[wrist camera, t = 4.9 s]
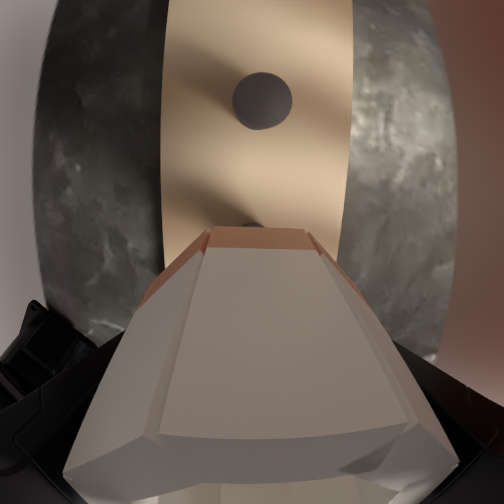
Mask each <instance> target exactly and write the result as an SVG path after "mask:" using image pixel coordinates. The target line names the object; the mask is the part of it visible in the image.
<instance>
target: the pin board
mask: <svg viewBox="0 0 504 504" xmlns="http://www.w3.org/2000/svg"><path fill="white" fill-rule="evenodd" d="M352 87H353V12H352V0H169V8H168V17H167V26H166V37H165V48H164V62H163V78H162V99H161V204H162V227H163V244H164V258H165V269H166V268H167V267H168V266H169V265H170V264H171V263H172V262H173V261H174V260H175V259H176V258H177V257H178V256H179V255H180V254H181V253H182V252H183V251H184V250H185V249H186V248H187V247H188V246H189V245H190V244H191V243H192V242H193V241H194V240H195V239H196V238H198V237H199V236H200V235H201V234H202V233H203V232H204V231H205V230H206V229H208V230H209V231H210V232H212V228H213V226H229V227H265V228H295V229H304V231H305V232H306V234H307V233H308V232H310V233H311V234H312V235H313V236H314V238H315V239H316V240H317V241H318V242H319V243H320V244H321V246H322V247H323V248H324V249H325V250H326V251H327V252H328V254H329V255H330V256H331V257H332V258H333V259H334V261H335V262H336V259H337V253H338V246H339V239H340V231H341V223H342V215H343V207H344V198H345V189H346V179H347V168H348V157H349V144H350V129H351V112H352Z"/></svg>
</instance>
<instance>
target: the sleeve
mask: <svg viewBox="0 0 504 504" xmlns="http://www.w3.org/2000/svg"><path fill="white" fill-rule="evenodd" d="M459 462H460V461H459V459H458V457H457V455H456V453H455V451H454V449H453V447H452V445H451V443H450V441H449V439H448V437H447V435H446V434H445V432H444V430H443V428H442V426H441V424H440V422H439V421H438V419H437V417H436V415H435V413H434V411H433V410H432V408H431V406H430V404H429V403H428V401H427V399H426V397H425V395H424V394H423V392H422V390H421V389H420V387H419V385H418V383H417V382H416V380H415V378H414V377H413V375H412V373H411V372H410V370H409V368H408V366H407V365H406V363H405V362H404V360H403V358H402V357H401V355H400V353H399V352H398V350H397V348H396V347H395V345H394V344H393V342H392V340H391V339H390V337H389V336H388V334H387V333H386V331H385V329H384V328H383V326H382V325H381V323H380V322H379V320H378V318H377V317H376V315H375V314H374V312H373V311H372V309H371V308H370V306H369V305H368V303H367V302H366V300H365V299H364V297H363V296H362V294H361V293H360V291H359V290H358V288H357V287H356V286H355V284H354V283H353V282H352V281H351V280H350V278H349V277H348V276H347V275H346V274H345V272H344V271H343V270H342V269H341V268H340V267H339V265H338V264H337V263H336V262H335V261H334V259H333V258H332V257H331V256H330V255H329V254H328V252H327V251H326V250H325V249H324V248H323V247H322V246H321V244H320V243H319V242H318V241H317V240H316V239H315V238H314V236H313V235H312V234H311V233H310V232H308V233H307V234H306V232H305V231H304V229H295V228H265V227H229V226H213V228H212V232H210V231H209V230H208V229H206V230H205V231H204V232H203V233H202V234H201V235H200V236H199V237H198V238H196V239H195V240H194V241H193V242H192V243H191V244H190V245H189V246H188V247H187V248H186V249H185V250H184V251H183V252H182V253H181V254H180V255H179V256H178V257H177V258H176V259H175V260H174V261H173V262H172V263H171V264H170V265H169V266H168V267H167V268H166V269H165V270H164V271H163V272H162V273H161V274H160V275H159V276H158V277H157V278H156V279H155V280H154V281H153V282H152V283H151V284H150V286H149V288H148V290H147V291H146V293H145V295H144V297H143V299H142V301H141V302H140V304H139V306H138V308H137V310H136V312H135V314H134V316H133V318H132V319H131V321H130V323H129V325H128V327H127V329H126V331H125V333H124V335H123V337H122V339H121V341H120V343H119V345H118V347H117V349H116V351H115V353H114V355H113V357H112V359H111V361H110V363H109V365H108V367H107V369H106V372H105V374H104V376H103V378H102V380H101V382H100V384H99V387H98V389H97V391H96V393H95V395H94V397H93V400H92V402H91V404H90V406H89V409H88V411H87V413H86V415H85V418H84V420H83V422H82V425H81V427H80V430H79V432H78V434H77V437H76V439H75V442H74V444H73V447H72V449H71V452H70V454H69V457H68V459H67V462H66V464H65V467H64V470H63V472H62V473H63V474H64V475H63V478H64V479H65V480H66V481H67V482H68V483H69V484H70V485H71V486H72V487H73V488H74V489H75V491H76V492H77V493H78V494H79V495H80V496H81V497H82V498H83V499H84V500H85V501H86V502H87V503H88V504H419V503H420V502H421V501H422V500H423V499H424V498H425V497H426V496H428V495H429V494H430V493H431V492H432V491H433V490H434V489H435V488H436V487H437V486H438V485H439V484H440V483H441V482H442V481H443V480H444V479H445V478H446V477H447V476H448V475H449V474H450V473H451V472H452V471H453V470H454V469H455V468H456V467H457V466H458V464H457V463H459Z"/></svg>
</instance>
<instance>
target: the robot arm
mask: <svg viewBox="0 0 504 504" xmlns="http://www.w3.org/2000/svg"><path fill="white" fill-rule="evenodd" d="M125 331H126V330H124V331H123V332H121V333H120V334H118V335H117V336H115V337H114V338H112V339H111V340H109V341H108V342H106V343H105V344H103V345H102V346H100V347H99V348H96V347H95V346H94V345H92V344H91V343H90V342H88V341H87V340H86V339H84V338H83V337H81V336H80V335H79V334H77V333H76V332H75V331H73V330H72V329H71V328H70V327H68V326H67V325H66V324H64V323H63V322H62V321H61V320H59V319H58V318H57V317H56V316H54V315H53V314H52V313H51V312H49V311H48V310H47V309H46V308H45V307H43V306H42V305H41V304H40V303H39V302H37V301H36V300H32V301H31V302H30V303H29V304H28V307H27V310H26V313H25V316H24V320H23V323H22V326H21V330H20V333H19V335H18V336H17V337H16V339H15V340H14V341H13V342H12V343H11V344H10V346H9V347H8V348H7V349H6V351H5V352H4V353H3V354H2V356H1V357H0V504H88V503H87V502H86V501H85V500H84V499H83V498H82V497H81V496H80V495H79V494H78V493H77V492H76V491H75V489H74V488H73V487H72V486H71V485H70V484H69V483H68V482H67V481H66V480H65V479H64V478H63V475H64V474H63V473H62V472H63V470H64V467H65V464H66V462H67V459H68V457H69V454H70V452H71V449H72V447H73V444H74V442H75V439H76V437H77V434H78V432H79V430H80V427H81V425H82V422H83V420H84V418H85V415H86V413H87V411H88V409H89V406H90V404H91V402H92V400H93V397H94V395H95V393H96V391H97V389H98V387H99V384H100V382H101V380H102V378H103V376H104V374H105V372H106V369H107V367H108V365H109V363H110V361H111V359H112V357H113V355H114V353H115V351H116V349H117V347H118V345H119V343H120V341H121V339H122V337H123V335H124V333H125ZM391 340H392V339H391ZM392 342H393V344H394V345H395V347H396V348H397V350H398V352H399V353H400V355H401V357H402V358H403V360H404V362H405V363H406V365H407V366H408V368H409V370H410V372H411V373H412V375H413V377H414V378H415V380H416V382H417V383H418V385H419V387H420V389H421V390H422V392H423V394H424V395H425V397H426V399H427V401H428V403H429V404H430V406H431V408H432V410H433V411H434V413H435V415H436V417H437V419H438V421H439V422H440V424H441V426H442V428H443V430H444V432H445V434H446V435H447V437H448V439H449V441H450V443H451V445H452V447H453V449H454V451H455V453H456V455H457V457H458V459H459V461H460V462H459V463H457V464H458V466H457V467H456V468H455V469H454V470H453V471H452V472H451V473H450V474H449V475H448V476H447V477H446V478H445V479H444V480H443V481H442V482H441V483H440V484H439V485H438V486H437V487H436V488H435V489H434V490H433V491H432V492H431V493H430V494H429V495H428V496H426V497H425V498H424V499H423V500H422V501H421V502H420V503H419V504H504V407H503V406H501V405H499V404H497V403H495V402H493V401H491V400H489V399H488V398H486V397H484V396H483V395H481V394H479V393H477V392H476V391H474V390H472V389H471V388H469V387H467V386H466V385H464V384H463V383H461V382H459V381H458V380H456V379H455V378H453V377H451V376H450V375H448V374H447V373H445V372H443V371H442V370H440V369H438V368H437V367H435V366H434V365H432V364H431V363H429V362H427V361H426V360H424V359H422V358H421V357H419V356H418V355H416V354H414V353H413V352H411V351H410V350H408V349H406V348H405V347H403V346H401V345H400V344H398V343H397V342H395V341H393V340H392ZM91 351H92V352H91Z"/></svg>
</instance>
